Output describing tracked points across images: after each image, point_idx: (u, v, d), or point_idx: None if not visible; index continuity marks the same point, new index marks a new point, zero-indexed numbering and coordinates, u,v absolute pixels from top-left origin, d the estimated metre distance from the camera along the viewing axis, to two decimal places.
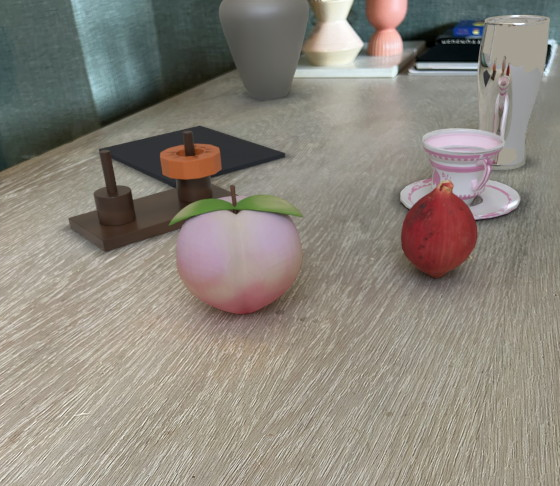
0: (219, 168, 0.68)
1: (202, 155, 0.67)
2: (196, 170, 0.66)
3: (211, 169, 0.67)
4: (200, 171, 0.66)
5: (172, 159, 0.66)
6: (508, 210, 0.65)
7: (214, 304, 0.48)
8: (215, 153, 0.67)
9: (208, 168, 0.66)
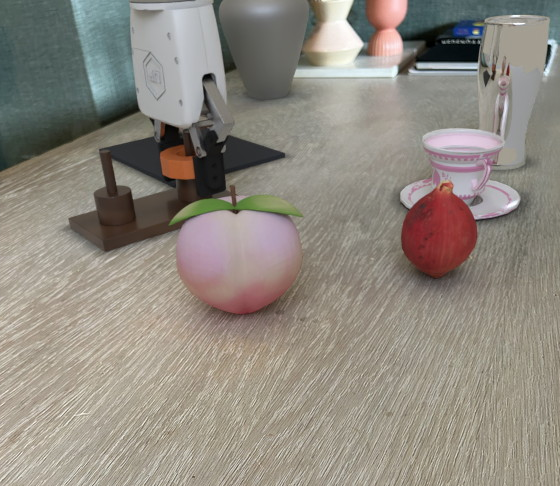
0: None
1: None
2: None
3: None
4: None
5: (172, 160, 0.66)
6: (508, 210, 0.65)
7: (214, 304, 0.48)
8: None
9: None
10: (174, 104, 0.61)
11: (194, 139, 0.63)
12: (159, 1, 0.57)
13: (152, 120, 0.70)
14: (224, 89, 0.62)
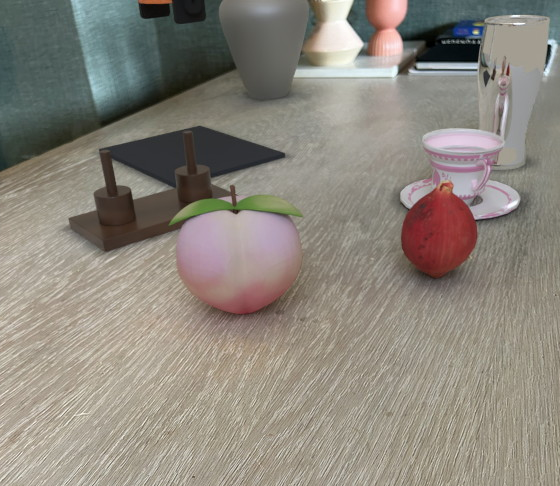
0: None
1: None
2: None
3: None
4: None
5: None
6: (508, 210, 0.65)
7: (214, 304, 0.48)
8: None
9: None
10: None
11: None
12: None
13: None
14: None
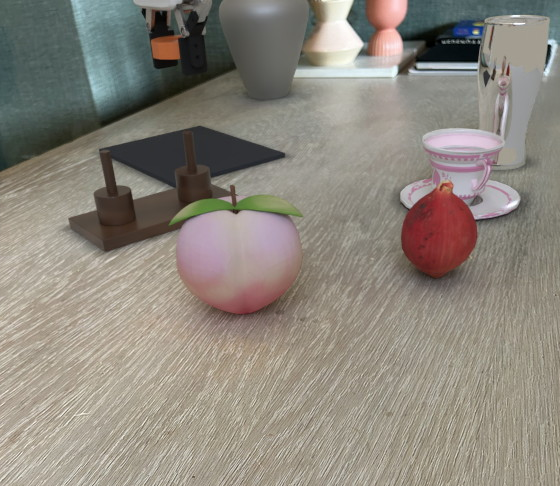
0: None
1: None
2: None
3: None
4: None
5: (161, 42, 0.77)
6: (508, 210, 0.65)
7: (214, 304, 0.48)
8: None
9: None
10: None
11: (179, 21, 0.75)
12: None
13: (144, 14, 0.81)
14: None
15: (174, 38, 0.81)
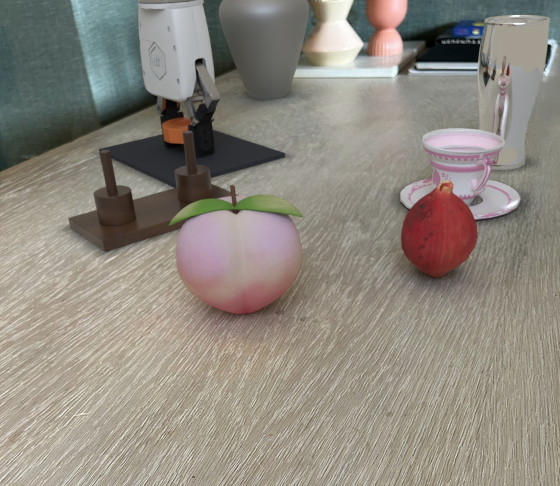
0: None
1: None
2: None
3: None
4: None
5: (172, 128, 0.83)
6: (508, 210, 0.65)
7: (214, 304, 0.48)
8: None
9: None
10: (173, 82, 0.78)
11: (189, 111, 0.80)
12: (161, 2, 0.74)
13: (155, 97, 0.87)
14: (212, 71, 0.79)
15: (184, 121, 0.86)
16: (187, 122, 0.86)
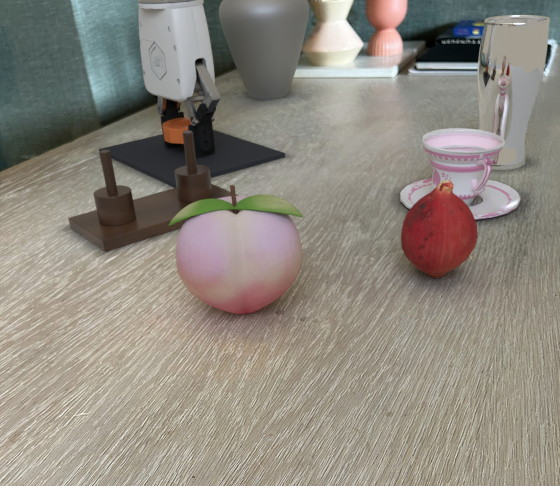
0: None
1: None
2: None
3: None
4: None
5: (172, 128, 0.83)
6: (508, 210, 0.65)
7: (214, 304, 0.48)
8: None
9: None
10: (173, 82, 0.78)
11: (189, 111, 0.80)
12: (161, 2, 0.74)
13: (156, 98, 0.87)
14: (213, 71, 0.79)
15: (184, 121, 0.86)
16: (187, 122, 0.86)
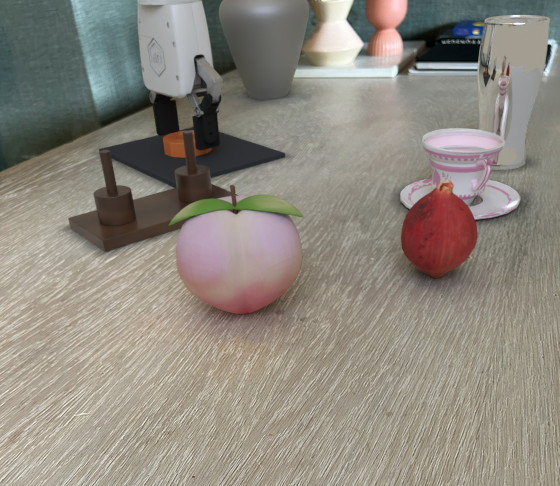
0: (210, 149, 0.86)
1: None
2: None
3: (203, 150, 0.85)
4: None
5: (172, 142, 0.84)
6: (508, 210, 0.65)
7: (214, 304, 0.48)
8: None
9: None
10: (172, 79, 0.78)
11: (192, 103, 0.79)
12: None
13: None
14: None
15: None
16: None
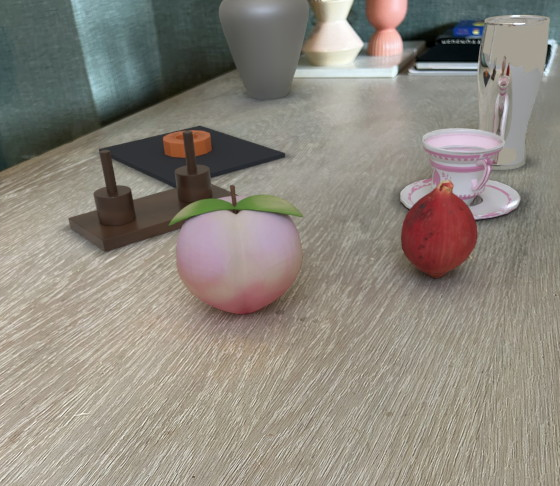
0: (210, 149, 0.86)
1: (196, 138, 0.84)
2: None
3: (203, 150, 0.85)
4: None
5: (172, 142, 0.84)
6: (508, 210, 0.65)
7: (214, 304, 0.48)
8: (206, 137, 0.85)
9: (201, 149, 0.84)
10: None
11: None
12: None
13: None
14: None
15: None
16: None
